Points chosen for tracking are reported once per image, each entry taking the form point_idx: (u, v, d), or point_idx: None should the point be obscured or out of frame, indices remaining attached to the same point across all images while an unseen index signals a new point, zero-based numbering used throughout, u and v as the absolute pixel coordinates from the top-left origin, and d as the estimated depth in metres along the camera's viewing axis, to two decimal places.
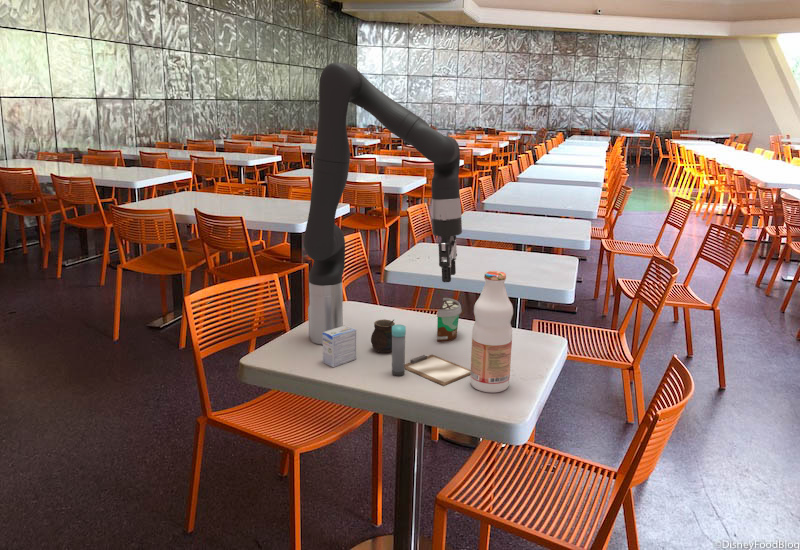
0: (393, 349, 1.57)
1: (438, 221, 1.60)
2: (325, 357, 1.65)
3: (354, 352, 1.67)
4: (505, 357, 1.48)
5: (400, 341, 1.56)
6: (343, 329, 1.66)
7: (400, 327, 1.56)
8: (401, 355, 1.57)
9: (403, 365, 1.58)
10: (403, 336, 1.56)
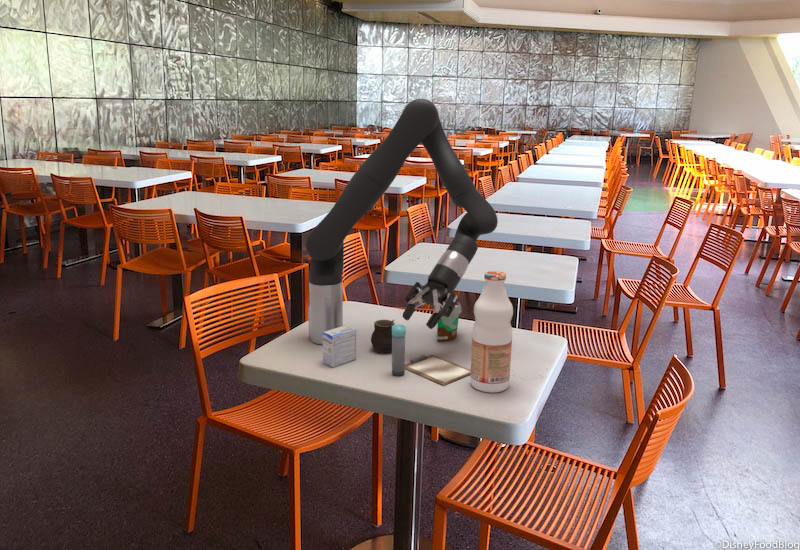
0: (393, 349, 1.57)
1: (454, 272, 1.62)
2: (325, 357, 1.65)
3: (354, 352, 1.67)
4: (505, 357, 1.48)
5: (400, 341, 1.56)
6: (343, 329, 1.66)
7: (400, 327, 1.56)
8: (401, 355, 1.57)
9: (403, 365, 1.58)
10: (403, 336, 1.56)
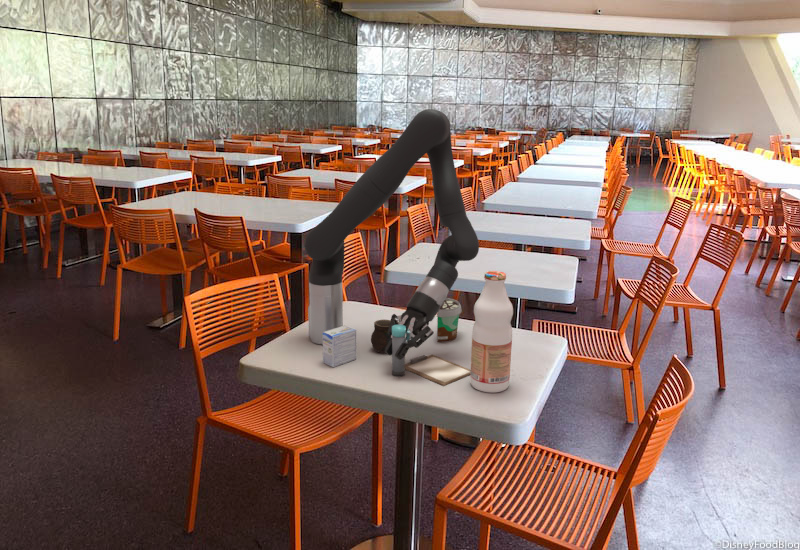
0: (393, 349, 1.57)
1: (433, 300, 1.58)
2: (325, 357, 1.65)
3: (354, 352, 1.67)
4: (505, 357, 1.48)
5: (400, 341, 1.56)
6: (343, 329, 1.66)
7: (400, 327, 1.56)
8: None
9: (403, 365, 1.58)
10: (403, 336, 1.56)
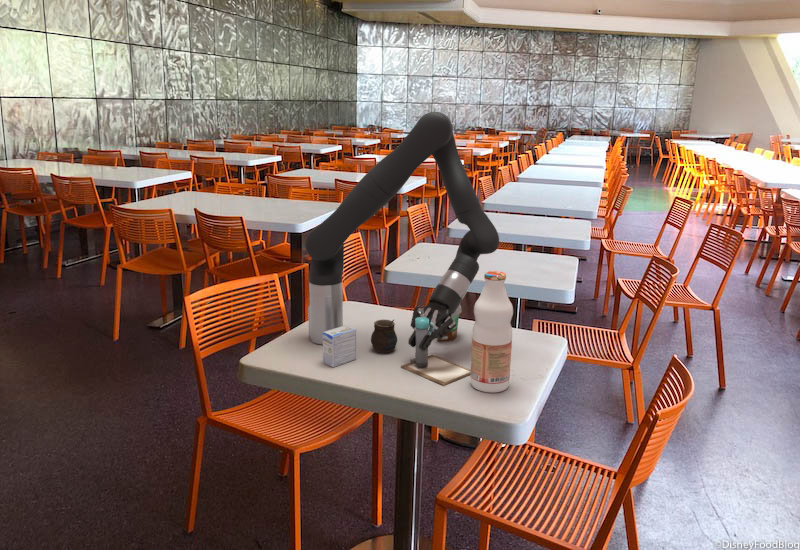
0: (417, 341, 1.60)
1: (455, 293, 1.61)
2: (325, 357, 1.65)
3: (354, 352, 1.67)
4: (505, 357, 1.48)
5: (423, 333, 1.59)
6: (343, 329, 1.66)
7: (423, 319, 1.59)
8: None
9: (426, 357, 1.61)
10: (426, 328, 1.59)
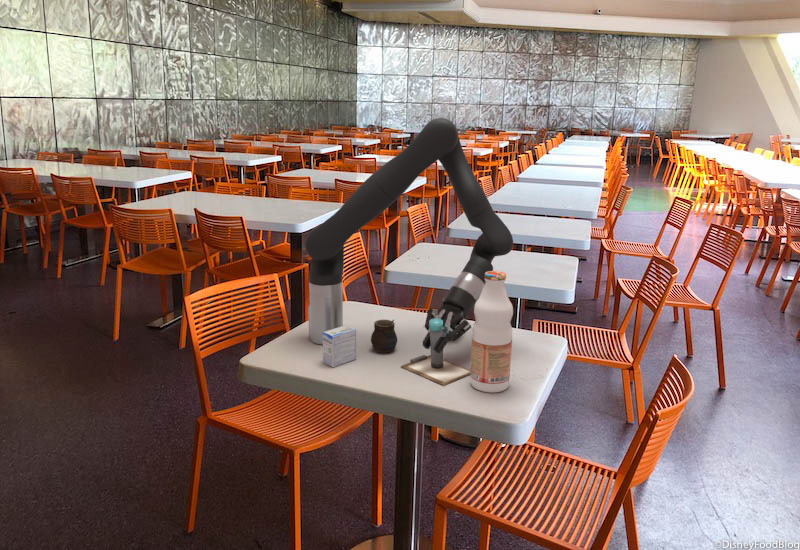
0: (432, 343, 1.60)
1: (470, 295, 1.61)
2: (325, 357, 1.65)
3: (354, 352, 1.67)
4: (505, 357, 1.48)
5: (438, 335, 1.59)
6: (343, 329, 1.66)
7: (437, 321, 1.59)
8: None
9: (442, 357, 1.62)
10: (441, 330, 1.59)
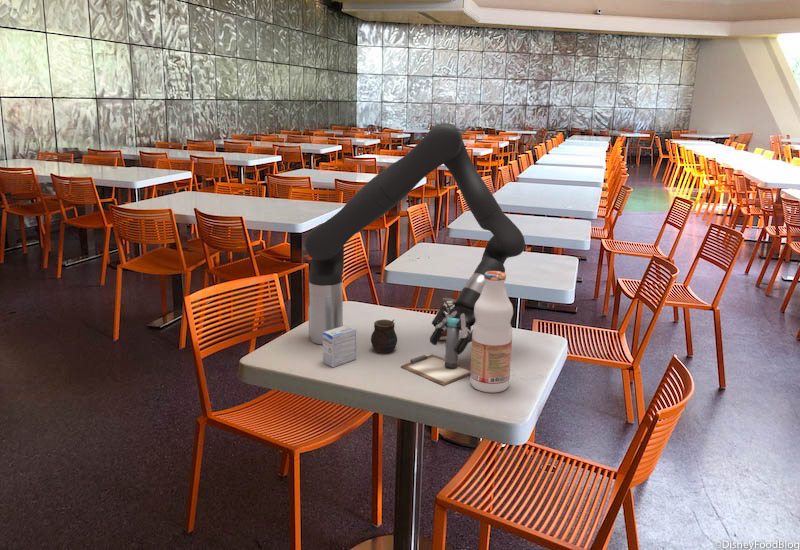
0: (448, 340, 1.61)
1: None
2: (325, 357, 1.65)
3: (354, 352, 1.67)
4: (505, 357, 1.48)
5: (456, 332, 1.61)
6: (343, 329, 1.66)
7: (456, 318, 1.61)
8: None
9: (457, 357, 1.62)
10: None
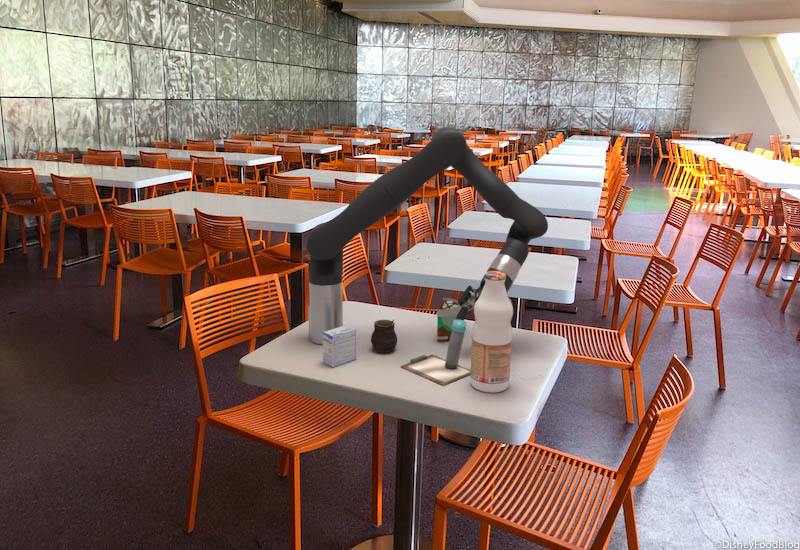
0: (451, 343, 1.59)
1: (507, 276, 1.65)
2: (325, 357, 1.65)
3: (354, 352, 1.67)
4: (505, 357, 1.48)
5: (460, 337, 1.58)
6: (343, 329, 1.66)
7: (461, 323, 1.58)
8: (458, 350, 1.60)
9: (458, 359, 1.61)
10: (463, 332, 1.58)
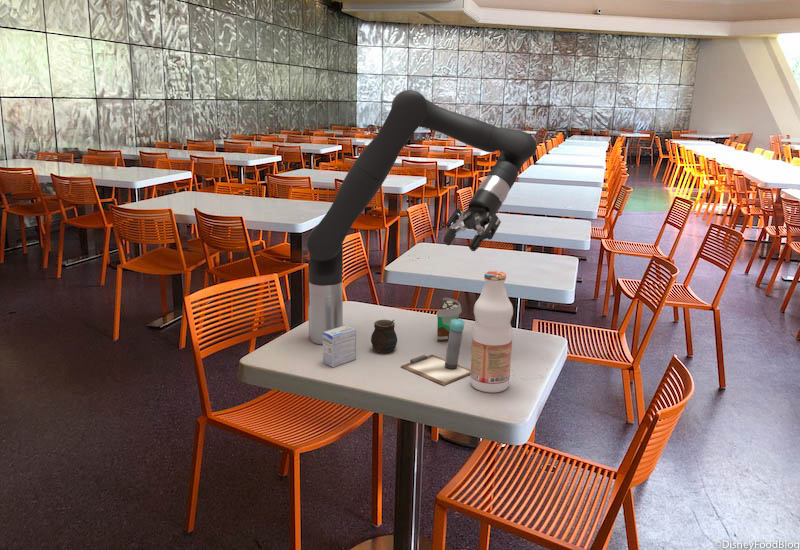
0: (450, 343, 1.60)
1: (495, 197, 1.62)
2: (325, 357, 1.65)
3: (354, 352, 1.67)
4: (505, 357, 1.48)
5: (458, 336, 1.59)
6: (343, 329, 1.66)
7: (459, 322, 1.59)
8: (457, 349, 1.60)
9: (457, 359, 1.61)
10: (461, 331, 1.59)
